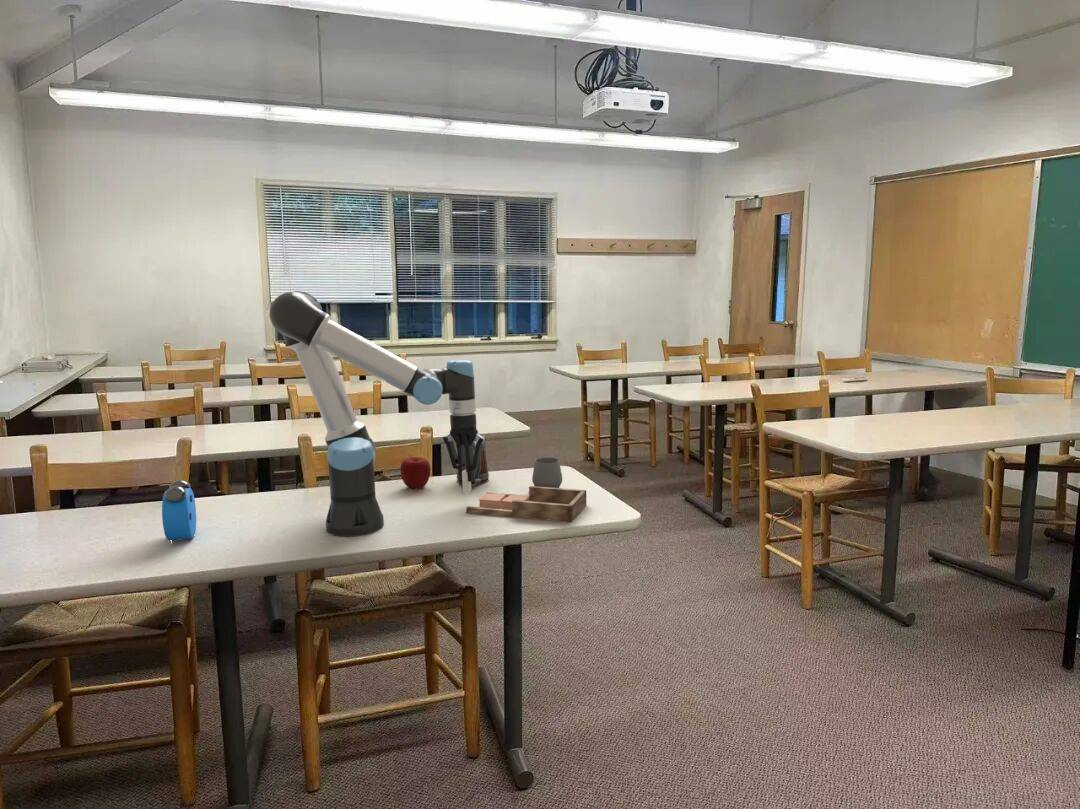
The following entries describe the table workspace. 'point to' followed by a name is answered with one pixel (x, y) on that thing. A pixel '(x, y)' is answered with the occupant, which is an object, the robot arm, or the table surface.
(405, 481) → the apple
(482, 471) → the mug
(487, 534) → the table surface
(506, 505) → the tile
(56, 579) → the table surface
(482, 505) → the tile
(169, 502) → the alarm clock
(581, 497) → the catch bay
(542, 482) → the cup
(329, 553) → the table surface
